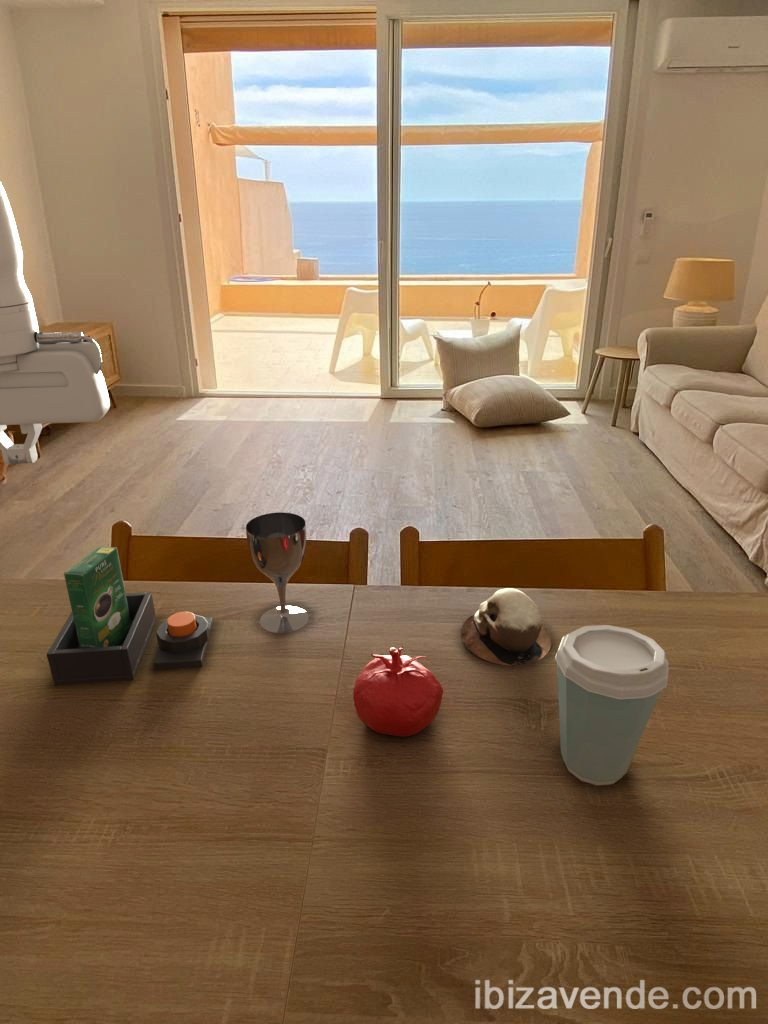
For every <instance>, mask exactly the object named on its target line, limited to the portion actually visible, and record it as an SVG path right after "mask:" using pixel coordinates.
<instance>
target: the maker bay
mask: <svg viewBox="0 0 768 1024" xmlns="http://www.w3.org/2000/svg"><path fill="white" fill-rule="evenodd" d="M125 594H126V599H127V604H128V610H129V615H130V620H131V627H130V630H129V632H128V634H127V636H126V638H125V639H124V640H123V641H122V642H121V643H120V644H119V645H118V646H113V647H97V648H81V649H80V645H79V641H78V636H77V631H76V627H75V622H74V618H73V613H72V611H71V612H70V614H69V616H68V617H67V619H66V621H65V622H64V624H63V625H62V627H61V630H59V632H58V634H57V636H56V637H55V639H54V641H53V642H52V644H51V646H50V648H49V649H48V651H47V652H46V657H47V661H48V666H49V669H50V673H51V677H52V681H53V684H54V686H66V685H80V684H82V685H83V684H95V683H96V684H97V683H108V682H109V683H113V682H126V681H127V682H128V681H134V680H135V678H136V675H137V672H138V670H139V668H140V664H141V661H142V659H143V656H144V654H145V652H146V649H147V646H148V643H149V641H150V638H151V635H152V633H153V630H154V628H155V625H156V623H157V616H156V610H155V609H156V608H155V605H154V598H153V593H152V591H146V592H145V591H144V592H143V591H142V592H127V593H126V592H125Z"/></svg>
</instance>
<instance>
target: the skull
mask: <svg viewBox="0 0 768 1024" xmlns="http://www.w3.org/2000/svg"><path fill="white" fill-rule="evenodd" d="M460 638H461V641H462V643H463V645H464V646H465V647H466V648H467V650H469V652H471V653H473V655H475V656H477V657H478V658H479V659H481V660H485V661H487V662H490V663H492V664H496V665H501V666H513V667H515V665H513V664H516V665H518V666H520V664H523V665H526V663H527V662H529V661H532V660H533V659H534V658H537V657H538V659H537V661H540V660H541V659H543V658H545V657H546V656H547V655H548V653H549V652H550V650H551V648H552V638H551V634H550V632H549V631H548V629H547V628H546V627H545V626H544V625H543V620H542V617H541V613H540V611H539V609H538V607H537V605H536V604H535V602H534V601H533V600H532V599H531V597H529V596H528V595H527V594H526V593H524V592H523V591H522V590H519V589H517V588H513V587H506V588H501V589H498V590H496V591H495V592H494V593H492V594H491V595H490V596H489V597H488V598H487V600H485V601H483V602H481V603H480V605H479V609H478V610H477V611H476V612H475V613H474V614H473V615H470V616H469V617H468V618H467V619H466V620H465V621H464V622H463V623H462V625H461V628H460Z"/></svg>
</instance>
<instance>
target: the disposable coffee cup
mask: <svg viewBox="0 0 768 1024" xmlns="http://www.w3.org/2000/svg"><path fill="white" fill-rule="evenodd" d="M556 651H557V652H556V654H555V657H554V660H555V661H556V666H557V667H556V669H557V692H558V693H557V696H558V715H559V741H560V743H559V744H560V755H561V757H562V760H563V762H564V764H565V767H566V769H567V771H568V772H569V773H570V774H571V775H572V776H574V777H575V778H577V779H578V780H579V781H581V782H584V783H588V784H590V785H594V786H608V785H613V784H615V783H616V782H618V781H619V780H621V779H622V778H623V777H624V776H625V775H626V774H627V773H628V771H629V768H630V765H631V764H632V761H633V759H634V756H635V754H636V751H637V749H638V746H639V744H640V742H641V740H642V737H643V735H644V732H645V729H646V727H647V725H648V723H649V720H650V718H651V716H652V713H653V710H654V708H655V706H656V704H657V701H658V698H659V696H660V694H661V692H662V690H664V689H665V688H667V687H668V683H669V681H668V679H669V673H670V672H669V671H670V670H669V663H670V662H669V661H668V659H667V658H666V651H665V650H664V649H663V648H662V647H661V646H660V645H659V644H658V643H657V642H656V641H655V639H653V638H652V637H649V636H647V635H645V634H643V633H640V632H638V631H636V630H634V629H632V628H627V627H621V626H615V625H610V624H597V625H596V624H595V625H584V626H582V627H579V628H577V629H575V630H573V631H571V632H569V633H567V634H566V635H563V636H562V637H561V640H560V643H559V646H558V649H557V650H556Z"/></svg>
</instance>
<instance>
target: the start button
mask: <svg viewBox="0 0 768 1024" xmlns="http://www.w3.org/2000/svg"><path fill="white" fill-rule="evenodd" d="M194 615H195V614H194V613H193V612H191V611H178V612H176V613H173V614H172V615H170V616H169V617H168V618H167V619H166V620H167V625H168V631H169V634H170V635H171V636H174V637H181V636H186V635H189V634H192V633H193V632H195V631H196V628H197V626H196V620H195V616H194Z"/></svg>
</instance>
